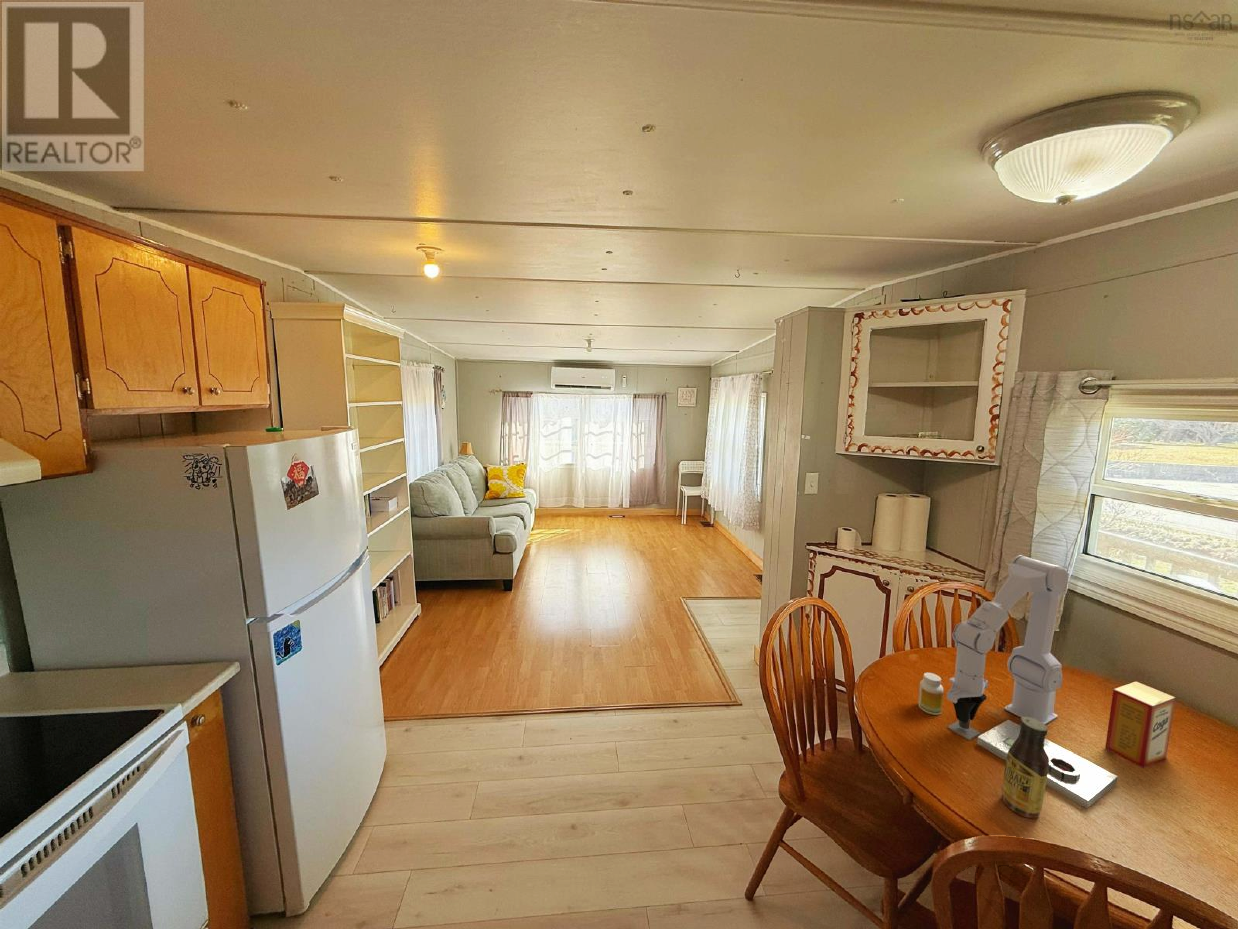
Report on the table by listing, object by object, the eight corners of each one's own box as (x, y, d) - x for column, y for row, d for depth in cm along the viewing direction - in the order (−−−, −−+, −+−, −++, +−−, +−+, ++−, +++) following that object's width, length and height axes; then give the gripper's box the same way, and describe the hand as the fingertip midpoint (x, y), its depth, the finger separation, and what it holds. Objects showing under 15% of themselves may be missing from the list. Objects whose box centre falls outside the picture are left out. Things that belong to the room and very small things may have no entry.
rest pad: (958, 722, 118) (958, 720, 118) (980, 734, 114) (980, 733, 114) (947, 727, 116) (947, 726, 116) (969, 740, 112) (969, 739, 112)
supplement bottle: (945, 716, 120) (948, 683, 119) (923, 714, 121) (926, 681, 120) (935, 703, 126) (938, 672, 124) (914, 701, 127) (917, 670, 125)
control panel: (1007, 726, 116) (1008, 714, 116) (1116, 784, 98) (1118, 770, 98) (977, 744, 110) (978, 731, 110) (1087, 809, 92) (1089, 794, 92)
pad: (1009, 745, 110) (1009, 738, 109) (1021, 751, 107) (1021, 745, 107) (1003, 748, 109) (1004, 741, 108) (1015, 755, 106) (1016, 748, 106)
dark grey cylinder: (961, 722, 116) (963, 693, 115) (971, 727, 114) (973, 698, 113) (956, 724, 115) (958, 695, 115) (966, 730, 113) (967, 700, 113)
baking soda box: (1127, 738, 112) (1136, 679, 110) (1166, 757, 106) (1176, 695, 103) (1105, 748, 109) (1113, 687, 107) (1143, 768, 103) (1152, 704, 101)
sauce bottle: (993, 795, 96) (1002, 711, 93) (1019, 793, 96) (1029, 709, 94) (1022, 823, 89) (1033, 734, 87) (1051, 821, 90) (1062, 731, 87)
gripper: (968, 655, 119) (963, 702, 121) (935, 669, 113) (931, 718, 115) (999, 669, 113) (994, 718, 115) (966, 684, 107) (961, 736, 109)
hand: (964, 719), depth 114 cm, fingers closed on dark grey cylinder, 2 cm apart
